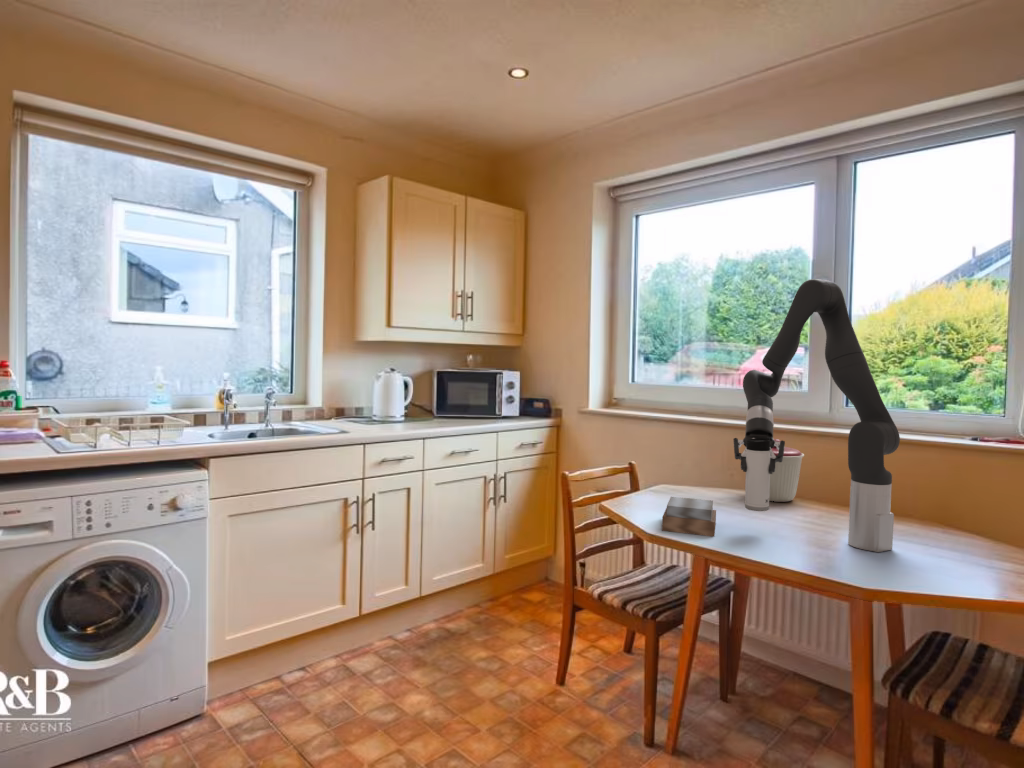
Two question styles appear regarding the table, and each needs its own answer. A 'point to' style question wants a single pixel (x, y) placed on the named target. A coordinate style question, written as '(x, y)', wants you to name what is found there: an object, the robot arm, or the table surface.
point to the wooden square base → (689, 516)
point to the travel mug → (757, 474)
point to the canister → (785, 475)
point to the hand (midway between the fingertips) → (757, 471)
